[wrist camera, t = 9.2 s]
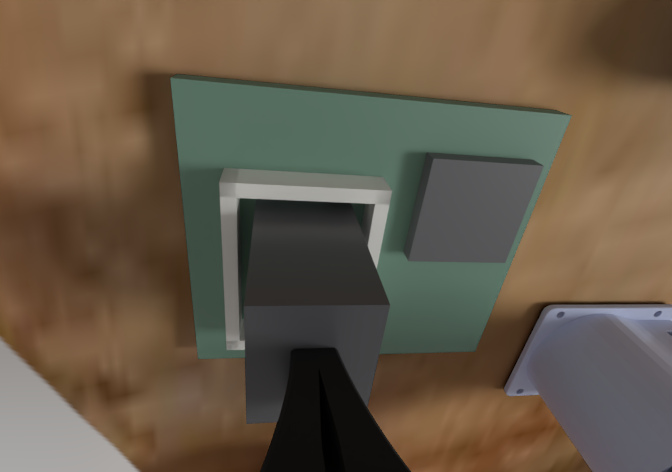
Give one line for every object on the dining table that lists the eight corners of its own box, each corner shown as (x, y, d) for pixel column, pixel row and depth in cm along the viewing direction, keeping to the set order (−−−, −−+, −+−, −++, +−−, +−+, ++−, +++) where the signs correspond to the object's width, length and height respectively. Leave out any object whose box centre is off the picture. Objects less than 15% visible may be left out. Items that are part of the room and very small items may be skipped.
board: (556, 110, 17) (597, 124, 15) (467, 339, 24) (486, 371, 22) (176, 73, 14) (159, 85, 12) (201, 344, 21) (192, 382, 19)
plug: (349, 199, 17) (390, 304, 11) (334, 312, 20) (359, 442, 14) (256, 195, 16) (243, 305, 10) (256, 313, 19) (247, 450, 13)
